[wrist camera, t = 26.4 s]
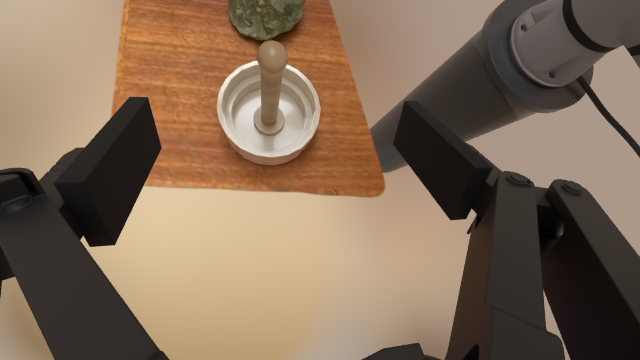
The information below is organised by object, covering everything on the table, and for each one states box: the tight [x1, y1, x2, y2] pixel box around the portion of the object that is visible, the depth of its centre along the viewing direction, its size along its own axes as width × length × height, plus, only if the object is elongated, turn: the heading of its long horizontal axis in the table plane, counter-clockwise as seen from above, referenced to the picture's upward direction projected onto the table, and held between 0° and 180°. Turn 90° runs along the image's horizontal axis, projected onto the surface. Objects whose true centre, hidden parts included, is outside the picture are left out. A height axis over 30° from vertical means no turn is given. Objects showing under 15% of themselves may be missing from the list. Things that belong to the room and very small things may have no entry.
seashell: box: [228, 0, 305, 40], centre depth 44 cm, size 10×7×10 cm
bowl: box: [217, 61, 320, 165], centre depth 41 cm, size 13×13×6 cm
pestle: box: [254, 40, 288, 136], centre depth 34 cm, size 4×4×18 cm
